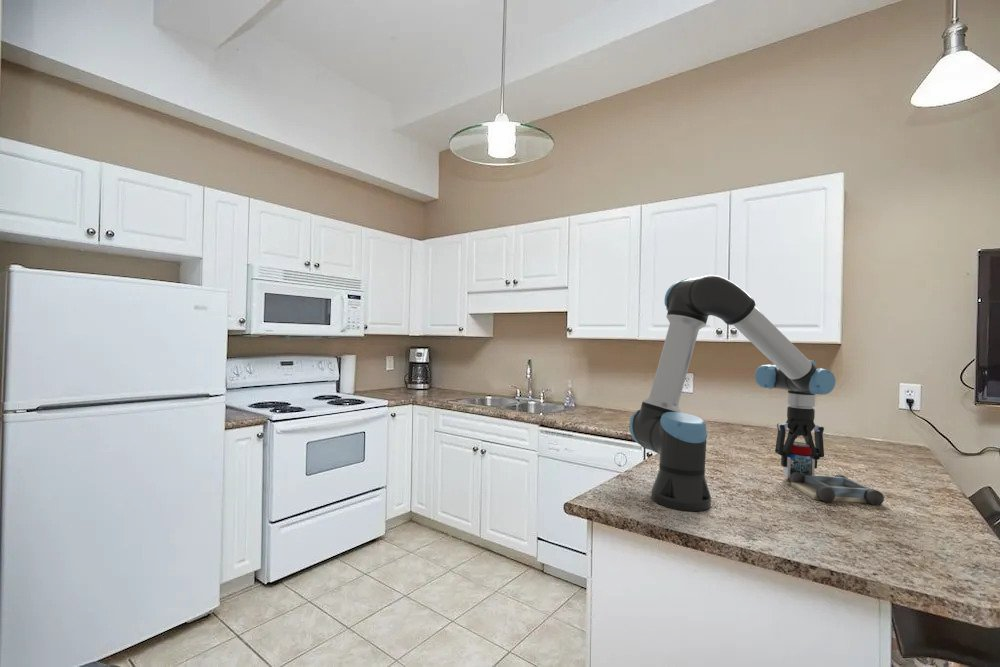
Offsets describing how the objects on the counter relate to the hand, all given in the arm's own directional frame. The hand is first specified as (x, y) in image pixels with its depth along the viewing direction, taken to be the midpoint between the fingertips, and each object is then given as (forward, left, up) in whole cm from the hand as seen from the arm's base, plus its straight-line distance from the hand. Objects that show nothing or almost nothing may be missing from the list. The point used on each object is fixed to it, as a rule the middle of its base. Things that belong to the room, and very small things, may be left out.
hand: (798, 477), depth 152 cm
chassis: (+3, -13, -1) cm, 13 cm away
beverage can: (0, 0, -1) cm, 1 cm away
